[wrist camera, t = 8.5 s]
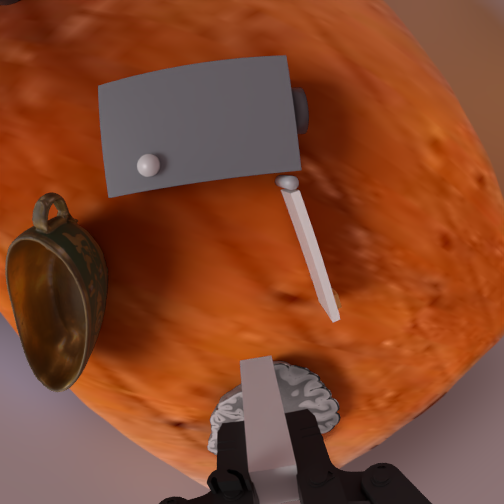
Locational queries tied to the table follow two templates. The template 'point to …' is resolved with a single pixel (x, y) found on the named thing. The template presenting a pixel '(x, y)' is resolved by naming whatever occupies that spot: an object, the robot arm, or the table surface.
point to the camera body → (201, 124)
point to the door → (309, 245)
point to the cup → (56, 293)
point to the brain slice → (292, 396)
